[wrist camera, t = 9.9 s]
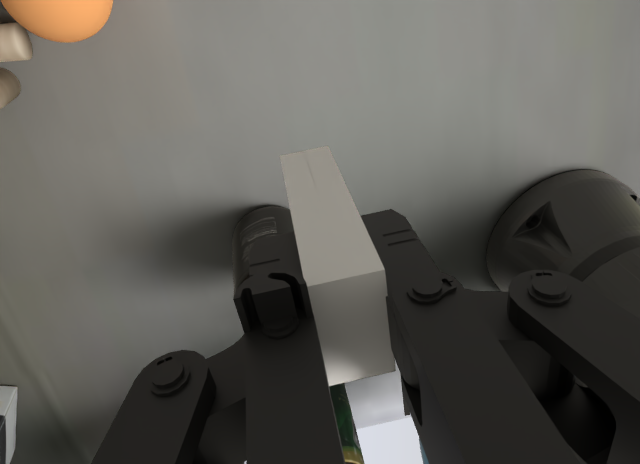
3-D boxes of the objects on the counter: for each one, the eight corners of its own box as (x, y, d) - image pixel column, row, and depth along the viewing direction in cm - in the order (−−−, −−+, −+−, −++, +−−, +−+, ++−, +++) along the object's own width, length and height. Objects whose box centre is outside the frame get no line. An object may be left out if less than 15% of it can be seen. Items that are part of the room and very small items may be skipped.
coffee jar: (255, 333, 48) (267, 525, 32) (331, 318, 48) (380, 499, 33) (271, 394, 53) (288, 584, 37) (339, 380, 54) (384, 561, 38)
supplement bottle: (228, 265, 43) (228, 366, 33) (236, 199, 39) (239, 289, 29) (301, 270, 44) (323, 367, 34) (315, 207, 41) (344, 295, 31)
